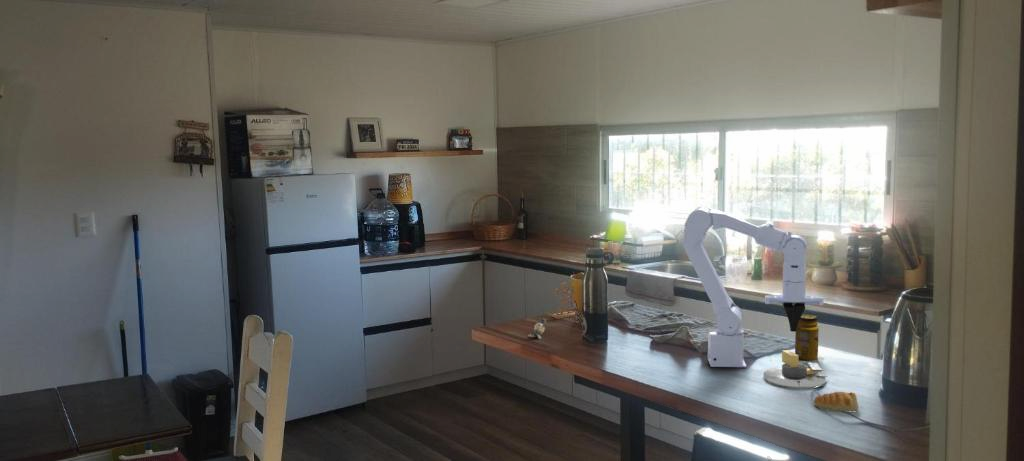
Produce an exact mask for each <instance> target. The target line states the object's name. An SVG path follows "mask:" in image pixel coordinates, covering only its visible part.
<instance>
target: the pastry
mask: <svg viewBox="0 0 1024 461" xmlns="http://www.w3.org/2000/svg"><path fill="white" fill-rule="evenodd" d="M813 404H814V406H816V407H817V408H819V409H821V408H822V410H827V409H829V410H828V411H832V410H833V412H842V411H852V412H851V413H854V412H853V411H857V412H858V410H859V402H858V398H857V395H856V393H855V392H853V391H850V392H844V391H835V392H830V393H827V394H826V393H825V394H824V393H823V394H822V395H821V394H820V395H818V396H815V398H814V400H813Z"/></svg>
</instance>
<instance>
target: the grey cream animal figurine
mask: <svg viewBox="0 0 1024 461" xmlns="http://www.w3.org/2000/svg"><path fill="white" fill-rule="evenodd" d="M538 319H539V320H537V322H536V323H535V324H534V326H533V327H534V328H533V330H534V333H533V334H531V333H529V334H528V335H527V336H528V337H531V338H537V339H538V340H541V339H542V338H543V336H541V335H542V334H543V333H544V332H545V331H546V330H545V328H546V322H547V319H546V318H545V317H539V318H538Z"/></svg>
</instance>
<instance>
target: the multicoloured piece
mask: <svg viewBox="0 0 1024 461" xmlns="http://www.w3.org/2000/svg"><path fill="white" fill-rule="evenodd" d="M781 362H782V363H783V364H782V365H781V367H782V374H783V375H784V376H787V377H792V378H802V377H806V376H807V374H817V373H820V372H813V371H812V369H811V368H808V366H806V364H803V363H800V362H799V355H797V354H795V352H793V351H791V350H790V349H786V350H785V349H784V350H782V351H781Z"/></svg>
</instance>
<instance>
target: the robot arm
mask: <svg viewBox="0 0 1024 461" xmlns="http://www.w3.org/2000/svg"><path fill="white" fill-rule="evenodd" d="M711 227H712V230H717V229H724V228H725V229H729V230H731V231H735V232H737V233H739V234H740V233H741V234H743V235H746V236H749V237H751V238H753V239H754V241H755V243H756V244H757V245H760V246H761V247H765V248H768V249H770V250H773V251H775V252H777V253H783V254H784V255H783V256H784V259H783V260H784V262H783V264H782V294H776V295H774V294H773V295H772V294H771V295H764V303H765V305H770V304H772V305H773V304H774V305H775V304H776V305H777V304H779V305H782V307H783V308H784V310H785V314H786V316H787V320H788V324H789V331H790V332H793V333H794V332H795V333H796V330H797V326H798V322H799V320H800V317H801V315H804V312H805V310H806V305H811V306H812V305H816V306H824V297H823V296H813V295H806V286H807V284H806V283H807V282H806V281H807V280H806V279H807V263H806V261H807V256H806V255H807V252H808V248H807V246H808V245H807V241H806V239H805V238H804V237H803V236H801V235H799V234H798V233H793V232H792V231H790V230H788V231H785V230H783V229H780V228H777V227H775V224H773V223H771V222H769V223H768V224H767V223H764V224H760V225H756V224H754V223H751V222H748V221H746V220H744V219H742V218H739V217H737V216H734V215H732V214H729V213H727V212H724V211H721V210H718V209H715V208H712V209H711V208H710V207H708V206H699V207H697V208H695V209H694V210H693V211H692V212H691V213H690V214H689V215H688V216H687V218H686V220H685V222H684V231H683V232H684V233H683V239H682V240H683V241H682V246H683V249H684V251H685V254H686V255H687V257H688V259H689V261H690V263H691V265H692V267H693V269H694V270H695V272H696V274H697V277H698V278H699V281H700V283H701V285H702V287H703V288H704V290H705V292H706V295H707V297H708V298H709V300H710V302H711V306H712V308H713V312H714V315H715V318H716V326H717V327H716V330H715V331H709V332H708V335H707V360H708V363H709V365H710V367H712V368H713V367H714V368H716V367H717V368H747V364H746V362H745V359H744V330H743V328H742V327H741V325H742V324H741V323H742V321H743V319H744V313H743V310H742V309H741V308H740V307H739V306H738V305H736V304H735V302H734V300H733V299H732V298H731V297H730V295H729V294H728V292H727V290H726V288H725V286H724V284H723V282H722V280H721V279H720V277H719V275H718V273H717V270H716V269H715V267H714V265H713V263H712V261H711V259H710V257H709V255H708V253H707V250H706V249H705V246H704V245H703V243H704V240H705V238H706V235H707V232H708V231H709V230H710V228H711Z"/></svg>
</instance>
